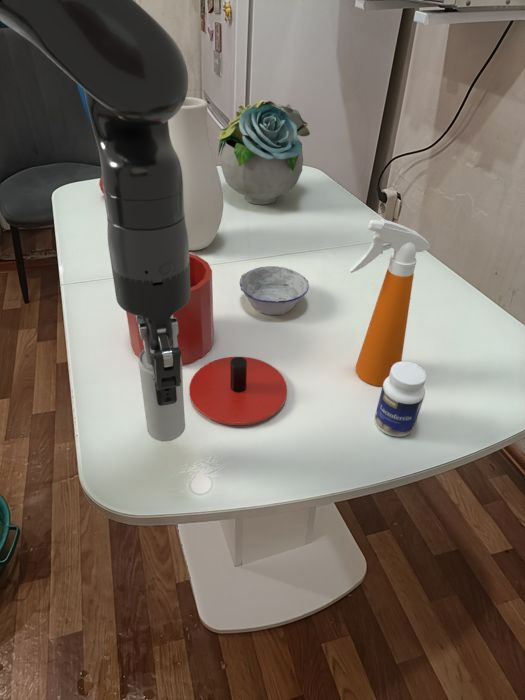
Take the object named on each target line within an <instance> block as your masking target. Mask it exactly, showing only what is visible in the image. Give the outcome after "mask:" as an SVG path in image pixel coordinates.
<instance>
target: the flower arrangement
mask: <svg viewBox="0 0 525 700" xmlns="http://www.w3.org/2000/svg"><path fill="white" fill-rule="evenodd" d="M238 109H239V111H236V112H235V113H236V115H235V118H234V119H233V120H232V121H229V122H228V125H227V126H226V127H224V128H221V129H220V130H221V131H220V132H219V137H216V139H217V140H219V144H218V153H217V154H218V155H217V156H218V157H219V155H220V166H221V171H222V175H223V178H224V180H225V183H226V184H227V185H228V186H229V187H230V188H232V189H233V190H234V191H235V192H237V193H238V194H239V195H243V197H244V199H245V201H247V202H248V203H251V204H252V205H253V204H254V205H263V206H264V205H270V204H273V203H275V202H276V200H277V199H278V197H280V196H282V195H285V194H286V193H289V191H291V190H292V189H294V188H295V186H296V185H297V183H298V181H299V178H300V177H301V175H302V172H303V166H304V153H303V143H302V141H301V139H300V137H308V136H310V135H311V132H310V129H309V128H308V127H307V126H308V125H309V124H308V122H306V121H304V119H303V117H302V115H301V114H300V112H299V110H297V109H295V108H294V109H293V108H292V106H291V104H290V103H289V104H287V105H285V104H280V103H279V104H278V103H276V102H275V101H273V100H268V101H266V100H265V99H261V100H259V101H256V102H255V103H252V104H251V105H250V104H248V105H247V106H245V107H244V104H243V102H241V103H240V106H238ZM299 136H300V137H299Z"/></svg>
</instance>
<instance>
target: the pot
mask: <svg viewBox="0 0 525 700" xmlns="http://www.w3.org/2000/svg"><path fill="white" fill-rule="evenodd" d="M189 265H190V288H191V296H190V299H189V301H188V303H187V304H186V305H185V306H184V307H183V308H182V309H181V310H179V311H177V312H176V313H174V314H173V318H177V322H178V330H179V333H178V335H177V341H178V347H179V350H180V351H181V355H180V356H181V360H182V366H186V365H189V364H192V363H195V362H197V361H198V360H200V359H202V358H204V357H205V356H206V355H207V354H208V353H209V351H210V350H211V349H212V347H213V345H214V344H213V343H214V339H215V338H214V337H215V334H214V333H215V331H214V299H213V298H214V297H213V295H214V294H213V293H214V292H213V290H214V289H213V270H212V268H211V266H210V264H209V262H208V261H207V260H205V259H203V258H202V257H200V256H198V255H196V254H193V253H189ZM125 314H126V319H127V320H126V321H127V326H128V333H129V340H130V344H131V349H132V352H133V353H134V355H135V356H136V357H137V358H139V356H140V354H141V352H142V351H143V350H144V349H145V348H144V343H143V339H141V336H140V332H139V325H138V324H137V320H136V315H133V314H130V313H128V312H127V311H125ZM171 346H172V343H171Z"/></svg>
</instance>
